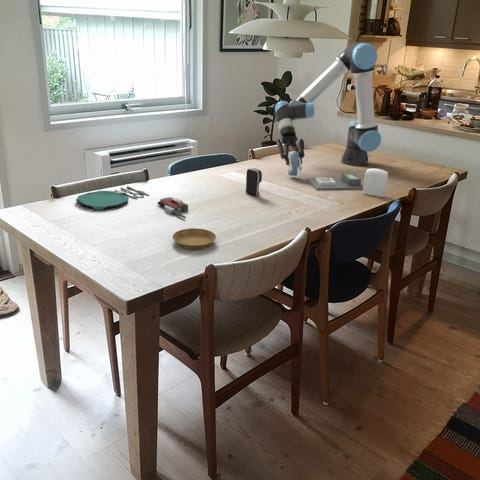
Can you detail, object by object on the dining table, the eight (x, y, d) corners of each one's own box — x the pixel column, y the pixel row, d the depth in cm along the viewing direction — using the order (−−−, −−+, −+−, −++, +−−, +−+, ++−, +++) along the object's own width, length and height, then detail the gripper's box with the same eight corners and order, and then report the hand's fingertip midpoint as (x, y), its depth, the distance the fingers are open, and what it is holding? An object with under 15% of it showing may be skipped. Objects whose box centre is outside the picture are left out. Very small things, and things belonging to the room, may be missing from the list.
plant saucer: (186, 256, 160) (186, 248, 159) (164, 240, 171) (164, 233, 170) (224, 246, 168) (224, 239, 167) (201, 232, 179) (201, 225, 178)
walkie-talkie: (152, 206, 201) (182, 221, 188) (152, 196, 199) (182, 210, 186) (170, 202, 207) (200, 216, 194) (170, 192, 205) (201, 206, 192)
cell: (295, 173, 250) (297, 150, 246) (298, 175, 246) (300, 152, 242) (287, 173, 249) (289, 150, 245) (289, 175, 245) (291, 152, 241)
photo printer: (361, 194, 229) (365, 168, 224) (363, 191, 233) (367, 166, 228) (383, 198, 225) (388, 171, 220) (385, 195, 228) (390, 169, 224)
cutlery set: (67, 202, 200) (66, 196, 200) (126, 188, 222) (126, 183, 222) (97, 215, 189) (97, 209, 188) (156, 199, 211) (156, 194, 210)
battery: (261, 195, 220) (263, 170, 216) (255, 196, 218) (257, 171, 213) (251, 191, 225) (252, 166, 221) (245, 192, 223) (246, 167, 218)
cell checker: (351, 179, 250) (353, 172, 248) (364, 189, 236) (365, 181, 234) (306, 180, 246) (307, 172, 244) (316, 190, 231) (317, 181, 230)
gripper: (300, 133, 257) (309, 173, 249) (268, 134, 252) (277, 174, 244) (305, 125, 250) (315, 165, 242) (272, 125, 246) (281, 166, 238)
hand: (295, 170), depth 243 cm, fingers closed on cell, 4 cm apart
